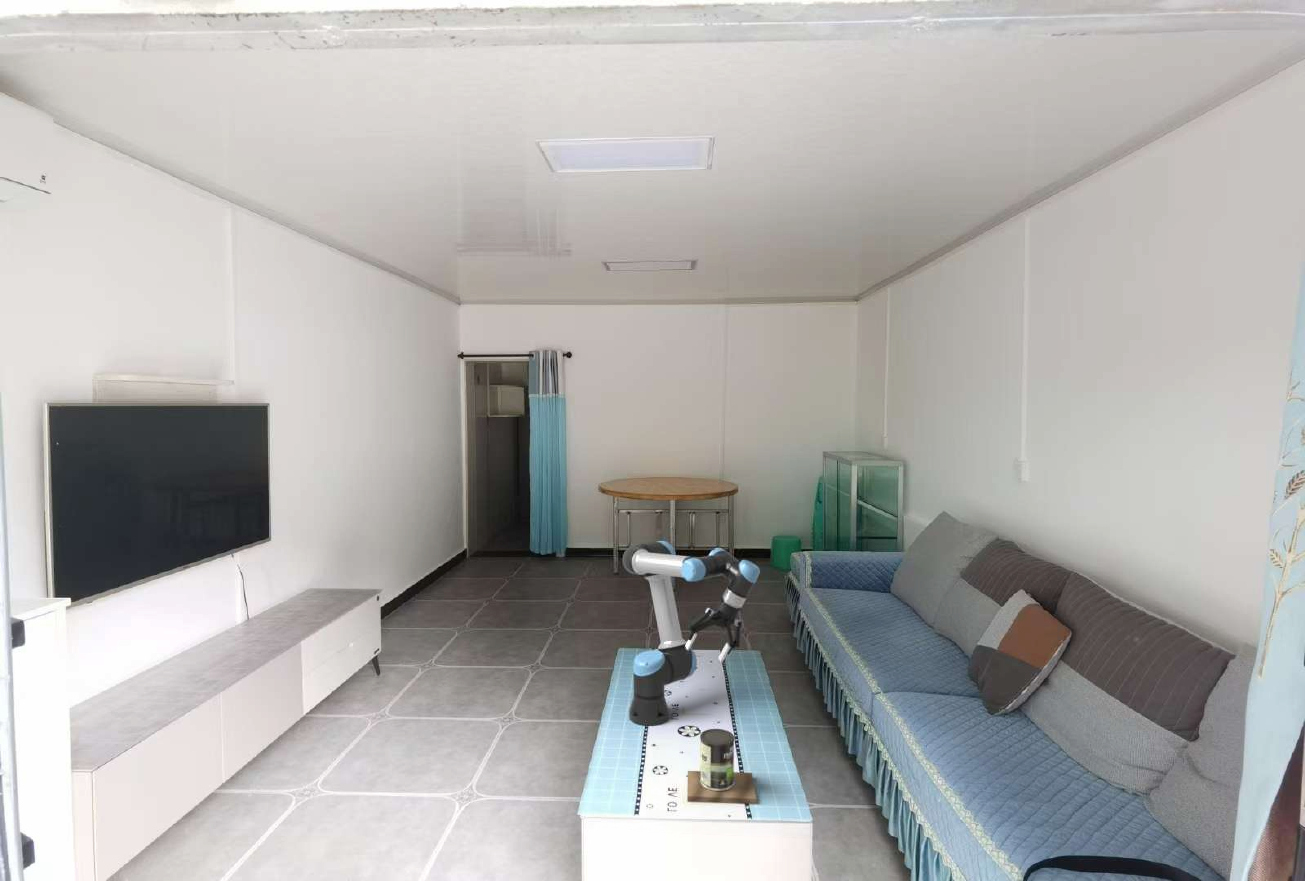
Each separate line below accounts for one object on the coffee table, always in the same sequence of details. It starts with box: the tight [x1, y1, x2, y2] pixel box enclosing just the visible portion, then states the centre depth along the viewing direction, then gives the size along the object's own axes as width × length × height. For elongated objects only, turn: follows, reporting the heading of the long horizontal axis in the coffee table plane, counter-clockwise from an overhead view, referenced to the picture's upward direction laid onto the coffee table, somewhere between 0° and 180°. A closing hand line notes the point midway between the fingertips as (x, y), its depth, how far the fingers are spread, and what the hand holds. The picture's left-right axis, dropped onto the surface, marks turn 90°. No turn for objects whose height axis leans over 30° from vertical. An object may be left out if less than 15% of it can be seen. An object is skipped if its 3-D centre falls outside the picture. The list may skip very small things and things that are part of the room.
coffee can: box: [699, 728, 735, 791], centre depth 197 cm, size 10×10×14 cm
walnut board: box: [686, 770, 757, 805], centre depth 196 cm, size 20×14×2 cm
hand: (703, 654), depth 228 cm, fingers open, 13 cm apart
